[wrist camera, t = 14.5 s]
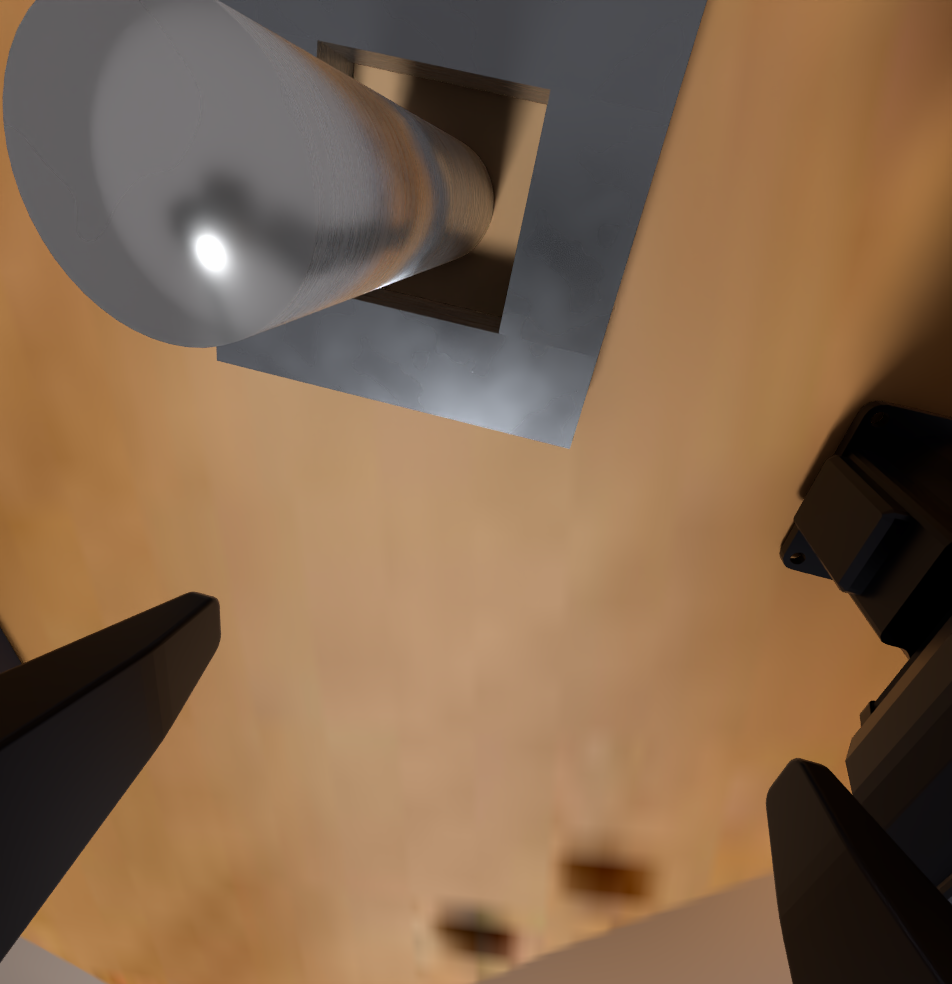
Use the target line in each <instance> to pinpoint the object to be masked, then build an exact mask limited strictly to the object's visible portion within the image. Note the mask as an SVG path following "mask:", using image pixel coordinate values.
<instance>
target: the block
mask: <svg viewBox="0 0 952 984" xmlns="http://www.w3.org/2000/svg"><path fill="white" fill-rule="evenodd" d="M219 1H220V2H222V3H224V4H226V5H227V6H229V7H231V8H232V9H234V10H236V11H238V12H239V13H241V14H243V15H244V16H246V17H248V18H250V19H251V20H253V21H255V22H256V23H258V24H260V25H262V26H263V27H265V28H267V29H269V30H270V31H272V32H274V33H275V34H277V35H279V36H281V37H282V38H284V39H286V40H287V41H289V42H291V43H293V44H294V45H296V46H298V47H299V48H301V49H303V50H305V51H306V52H308V53H310V54H312V55H313V56H315V57H317V58H318V59H320V60H322V61H324V62H325V63H327V64H329V65H330V66H332V67H334V68H336V69H337V70H339V71H341V72H342V73H344V74H346V75H348V76H349V77H351V78H353V66H354V63H355V64H360V65H364V66H369V67H374V68H378V69H383V70H388V71H392V72H397V73H402V74H406V75H411V76H416V77H420V78H425V79H430V80H434V81H439V82H444V83H448V84H453V85H458V86H462V87H467V88H472V89H476V90H481V91H486V92H490V93H495V94H500V95H504V96H509V97H514V98H518V99H523V100H528V101H532V102H537V103H542V104H546V105H547V109H546V114H545V118H544V123H543V128H542V132H541V137H540V142H539V146H538V151H537V156H536V161H535V165H534V170H533V175H532V179H531V184H530V189H529V193H528V198H527V203H526V207H525V212H524V217H523V222H522V226H521V231H520V236H519V240H518V245H517V250H516V254H515V259H514V264H513V268H512V273H511V278H510V283H509V287H508V292H507V297H506V301H505V306H504V311H503V315H502V317H498V316H494V315H490V314H486V313H482V312H477V311H473V310H469V309H465V308H461V307H456V306H452V305H448V304H444V303H440V302H435V301H431V300H427V299H423V298H419V297H414V296H410V295H406V294H402V293H398V292H393V291H389V290H385V289H381V288H378V289H376V290H373V291H370V292H368V293H365V294H362V295H360V296H357V297H354V298H352V299H349V300H346V301H344V302H341V303H338V304H336V305H333V306H330V307H328V308H325V309H322V310H320V311H317V312H314V313H312V314H309V315H306V316H304V317H301V318H298V319H296V320H293V321H290V322H288V323H285V324H282V325H280V326H277V327H274V328H272V329H269V330H266V331H264V332H261V333H259V334H256V335H253V336H251V337H248V338H245V339H243V340H240V341H237V342H234V343H230V344H226V345H223V346H217V361H221V362H225V363H229V364H233V365H237V366H241V367H245V368H249V369H253V370H257V371H261V372H265V373H269V374H273V375H277V376H281V377H285V378H289V379H293V380H297V381H301V382H305V383H309V384H313V385H317V386H321V387H325V388H329V389H333V390H337V391H341V392H345V393H349V394H353V395H357V396H361V397H365V398H369V399H373V400H377V401H381V402H385V403H389V404H393V405H397V406H401V407H405V408H409V409H413V410H417V411H421V412H425V413H429V414H433V415H437V416H441V417H444V418H448V419H452V420H456V421H460V422H464V423H468V424H472V425H476V426H480V427H484V428H488V429H492V430H496V431H500V432H504V433H508V434H512V435H516V436H520V437H524V438H528V439H532V440H536V441H540V442H544V443H548V444H552V445H556V446H560V447H564V448H568V449H570V446H571V443H572V439H573V436H574V433H575V430H576V426H577V423H578V420H579V417H580V413H581V410H582V407H583V404H584V400H585V397H586V394H587V390H588V387H589V384H590V381H591V377H592V374H593V371H594V368H595V364H596V361H597V358H598V355H599V351H600V348H601V345H602V341H603V338H604V335H605V332H606V328H607V325H608V322H609V319H610V315H611V312H612V309H613V306H614V302H615V299H616V296H617V292H618V289H619V286H620V283H621V279H622V276H623V273H624V270H625V266H626V263H627V260H628V257H629V253H630V250H631V247H632V244H633V240H634V237H635V234H636V230H637V227H638V224H639V221H640V217H641V214H642V211H643V208H644V204H645V201H646V198H647V195H648V191H649V188H650V185H651V181H652V178H653V175H654V172H655V168H656V165H657V162H658V159H659V155H660V152H661V149H662V146H663V142H664V139H665V136H666V133H667V129H668V126H669V123H670V119H671V116H672V113H673V110H674V106H675V103H676V100H677V97H678V93H679V90H680V87H681V84H682V80H683V77H684V74H685V70H686V67H687V64H688V61H689V57H690V54H691V51H692V48H693V44H694V41H695V38H696V35H697V31H698V28H699V25H700V22H701V18H702V15H703V12H704V8H705V5H706V2H707V0H219Z"/></svg>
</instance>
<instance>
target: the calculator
mask: <svg viewBox="0 0 952 984" xmlns="http://www.w3.org/2000/svg"><path fill="white" fill-rule="evenodd" d="M19 665H21V662H20V660H19V658H18V657H17V655H16V653H15V652H14V650H13V648H12V646H11V645H10V643H9V641H8V640H7V638H6V636H5V635H4V633H3V631H2V629H1V628H0V673H2V672H5V671H7V670H9V669H12V668H14V667H16V666H19Z"/></svg>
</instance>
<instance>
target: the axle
mask: <svg viewBox="0 0 952 984" xmlns="http://www.w3.org/2000/svg"><path fill="white" fill-rule="evenodd" d="M3 120H4V129H5V136H6V144H7V149H8V154H9V158H10V162H11V166H12V171H13V174H14V177H15V180H16V183H17V186H18V189H19V192H20V195H21V197H22V199H23V202H24V204H25V206H26V209H27V211H28V213H29V216H30V218H31V220H32V222H33V223H34V225H35V227H36V229H37V231H38V233H39V235H40V236H41V238H42V240H43V241H44V243H45V245H46V246H47V248H48V249H49V251H50V252H51V254H52V255H53V257H54V258H55V260H56V261H57V262H58V264H59V265H60V266H61V267H62V269H63V270H64V271H65V272H66V274H67V275H68V276H69V277H70V279H71V280H72V281H73V282H74V283H75V284H76V285H77V286H78V287H79V288H80V289H81V290H82V291H83V293H84V294H86V295H87V296H88V297H89V298H90V299H91V300H92V301H93V302H94V303H96V304H97V305H98V306H99V307H100V308H101V309H103V310H104V311H105V312H107V313H108V314H110V315H111V316H112V317H114V318H115V319H116V320H118V321H119V322H121V323H123V324H125V325H126V326H128V327H130V328H131V329H133V330H135V331H137V332H139V333H141V334H144V335H146V336H148V337H150V338H153V339H156V340H159V341H162V342H165V343H168V344H173V345H179V346H184V347H199V348H207V347H216V346H223V345H226V344H230V343H234V342H237V341H240V340H243V339H245V338H248V337H251V336H253V335H256V334H259V333H261V332H264V331H266V330H269V329H272V328H274V327H277V326H280V325H282V324H285V323H288V322H290V321H293V320H296V319H298V318H301V317H304V316H306V315H309V314H312V313H314V312H317V311H320V310H322V309H325V308H328V307H330V306H333V305H336V304H338V303H341V302H344V301H346V300H349V299H352V298H354V297H357V296H360V295H362V294H365V293H368V292H370V291H373V290H376V289H378V288H381V287H384V286H386V285H389V284H392V283H394V282H397V281H400V280H402V279H405V278H408V277H410V276H413V275H416V274H418V273H421V272H424V271H426V270H429V269H432V268H434V267H437V266H440V265H442V264H445V263H448V262H450V261H453V260H455V259H458V258H460V257H462V256H464V255H466V254H467V253H469V252H470V251H471V250H473V249H474V248H475V247H476V246H477V245H478V244H479V242H480V241H481V240H482V238H483V237H484V235H485V233H486V231H487V229H488V227H489V224H490V222H491V218H492V213H493V206H494V196H493V188H492V183H491V179H490V176H489V174H488V171H487V169H486V167H485V165H484V163H483V162H482V160H481V159H480V158H479V156H478V155H477V154H476V153H475V152H474V151H473V150H472V149H471V148H470V147H469V146H467V145H466V144H464V143H463V142H461V141H459V140H458V139H456V138H454V137H453V136H451V135H449V134H447V133H446V132H444V131H442V130H440V129H439V128H437V127H435V126H434V125H432V124H430V123H428V122H427V121H425V120H423V119H422V118H420V117H418V116H416V115H415V114H413V113H411V112H410V111H408V110H406V109H404V108H403V107H401V106H399V105H397V104H396V103H394V102H392V101H391V100H389V99H387V98H385V97H384V96H382V95H380V94H379V93H377V92H375V91H373V90H372V89H370V88H368V87H367V86H365V85H363V84H361V83H360V82H358V81H356V80H355V79H353V78H351V77H349V76H348V75H346V74H344V73H342V72H341V71H339V70H337V69H336V68H334V67H332V66H330V65H329V64H327V63H325V62H324V61H322V60H320V59H318V58H317V57H315V56H313V55H312V54H310V53H308V52H306V51H305V50H303V49H301V48H299V47H298V46H296V45H294V44H293V43H291V42H289V41H287V40H286V39H284V38H282V37H281V36H279V35H277V34H275V33H274V32H272V31H270V30H269V29H267V28H265V27H263V26H262V25H260V24H258V23H256V22H255V21H253V20H251V19H250V18H248V17H246V16H244V15H243V14H241V13H239V12H238V11H236V10H234V9H232V8H231V7H229V6H227V5H226V4H224V3H222V2H220V1H219V0H36V1H35V2H34V3H33V4H32V6H31V7H30V8H29V9H28V11H27V13H26V15H25V16H24V18H23V20H22V22H21V24H20V25H19V27H18V29H17V32H16V34H15V37H14V40H13V43H12V45H11V48H10V51H9V56H8V61H7V66H6V70H5V77H4V89H3Z"/></svg>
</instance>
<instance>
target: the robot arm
mask: <svg viewBox="0 0 952 984" xmlns="http://www.w3.org/2000/svg"><path fill="white" fill-rule="evenodd" d="M879 412H883V417H882V418H881V419H880V420H879V421H878V422H875V423H871V419H872V417H873V416H874V415H875V414H877V413H879ZM794 522H795V525H794V526H793V528H792V530H791V532H790V534H789V535H788V537H787V539H786V541H785V542H784V544H783V546H782V548H781V550H780V553H779V554H780V558H781V560H782V561H783V563H784V565H785V566H786V567H788V568H790V569H792V570H796V571H800V572H804V573H808V574H812V575H816V576H819V577H823V578H827V579H831V580H833V581H834V582H835V584H836V585H837V587H838V588H839V590H841V591H842V592H845V593H848V594H849V595H850V596H851V598H852V599H853V601H854V602H855V604H856V605H857V607H858V608H859V609H860V611H861V612H862V614H863V615H864V617H865V618H866V620H867V621H868V622H869V624H870V625H871V627H872V628H873V630H874V631H875V633H876V634H877V635H878V637H879V638H880V640H881V641H882V642H883V643H885V644H887V645H891V646H895V647H899V648H901V650H902V651H903V652H904V654H905V655H906V657H907V658H908V659H909V660H908V662H907V663H906V664H905V665H904V667H903V668H902V669H901V670H900V672H899V673H898V674H897V675H896V677H895V678H894V679H893V680H892V681H891V683H890V684H889V685H888V686H887V688H886V689H885V690H884V691H883V693H882V694H881V695H880V696H879V698H878V699H877V700H876V701H870V702H869V703H868V705H867V706H866V707H865V708H864V710H863V711H862V712H861V713H860V721H861V728H860V729H859V730H858V732H857V733H856V734H855V735H854V736H853V738H852V740H851V743H850V747H849V750H848V754H847V757H846V761H845V762H846V766H847V771H848V776H849V780H850V785H851V790H852V794H853V795H852V794H851V793H850V792H849V791H848V790H847V788H846V787H845V786H844V785H843V784H842V783H841V782H840V781H839V780H838V779H837V777H836V776H835V775H834V774H833V773H832V772H831V771H830V770H829V769H828V768H827V767H825V766H824V765H822V764H819V763H815V762H812V761H808V760H804V759H801V758H795V759H793V760H791V761H790V762H789V763H788V764H787V766H786V767H785V768H784V770H783V771H782V772H781V774H780V775H779V776H778V778H777V779H776V780H775V782H774V783H773V784H772V786H771V787H770V789H769V791H768V793H767V798H766V810H767V819H768V828H769V836H770V845H771V854H772V863H773V872H774V880H775V889H776V897H777V905H778V911H779V919H780V924H781V929H782V934H783V940H784V944H785V949H786V954H787V959H788V963H789V968H790V973H791V978H792V982H793V984H952V417H948V416H944V415H940V414H935V413H931V412H927V411H923V410H918V409H914V408H910V407H906V406H902V405H897V404H893V403H889V402H885V401H873V402H869V403H868V404H866V405H865V406H863V407H862V408H861V409H860V411H859V412H858V414H857V415H856V417H855V419H854V421H853V422H852V424H851V426H850V428H849V430H848V431H847V433H846V435H845V437H844V438H843V440H842V442H841V444H840V445H839V447H838V449H837V451H836V452H835V454H834V456H832V457H830V458H828V459H827V460H826V461H825V463H824V465H823V467H822V468H821V470H820V472H819V474H818V475H817V477H816V479H815V481H814V483H813V484H812V486H811V488H810V490H809V491H808V493H807V495H806V497H805V499H804V500H803V502H802V504H801V506H800V507H799V509H798V511H797V513H796V515H795V516H794ZM795 553H801V555H800V556H799V557H797V558H791V556H792V555H793V554H795ZM220 638H221V626H220V605H219V601H218V600H217V598H215V597H213V596H209V595H206V594H202V593H198V592H189V593H186V594H183V595H181V596H179V597H177V598H174V599H172V600H170V601H167V602H165V603H163V604H160V605H158V606H156V607H153V608H151V609H149V610H146V611H144V612H142V613H139V614H137V615H135V616H132V617H130V618H128V619H125V620H123V621H121V622H119V623H116V624H114V625H112V626H109V627H107V628H105V629H102V630H100V631H98V632H95V633H93V634H91V635H88V636H86V637H84V638H81V639H79V640H77V641H74V642H72V643H70V644H67V645H65V646H63V647H60V648H58V649H56V650H54V651H51V652H49V653H47V654H44V655H42V656H40V657H37V658H35V659H33V660H30V661H28V662H26V663H23V664H21V665H19V666H16V667H14V668H12V669H9V670H7V671H5V672H2V673H0V963H1V961H2V960H3V958H4V957H5V955H6V954H7V953H8V952H9V950H10V949H11V947H12V946H13V945H14V943H15V942H16V940H17V939H18V938H19V937H20V935H21V934H22V932H23V931H24V930H25V928H26V927H27V926H28V924H29V923H30V922H31V920H32V919H33V917H34V916H35V915H36V913H37V912H38V911H39V909H40V908H41V907H42V905H43V904H44V902H45V901H46V900H47V898H48V897H49V896H50V894H51V893H52V892H53V890H54V889H55V887H56V886H57V885H58V883H59V882H60V881H61V879H62V878H63V877H64V875H65V874H66V872H67V871H68V870H69V868H70V867H71V866H72V864H73V863H74V861H75V860H76V859H77V857H78V856H79V855H80V853H81V852H82V851H83V849H84V848H85V846H86V845H87V844H88V842H89V841H90V840H91V838H92V837H93V836H94V834H95V833H96V831H97V830H98V829H99V827H100V826H101V825H102V823H103V822H104V821H105V819H106V818H107V816H108V815H109V814H110V812H111V811H112V810H113V808H114V807H115V806H116V804H117V803H118V801H119V800H120V799H121V797H122V796H123V795H124V793H125V792H126V791H127V789H128V788H129V786H130V785H131V784H132V782H133V781H134V780H135V778H136V777H137V775H138V774H139V773H140V771H141V770H142V769H143V767H144V766H145V765H146V763H147V762H148V760H149V759H150V758H151V756H152V755H153V754H154V752H155V751H156V749H157V748H158V746H159V745H160V744H161V742H162V741H163V739H164V738H165V736H166V735H167V733H168V731H169V730H170V728H171V727H172V725H173V723H174V722H175V720H176V718H177V717H178V715H179V713H180V711H181V710H182V708H183V706H184V705H185V703H186V701H187V700H188V698H189V696H190V694H191V693H192V691H193V689H194V688H195V686H196V684H197V683H198V681H199V679H200V677H201V676H202V674H203V672H204V671H205V669H206V667H207V666H208V664H209V662H210V661H211V659H212V657H213V655H214V654H215V652H216V650H217V648H218V646H219V642H220Z"/></svg>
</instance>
